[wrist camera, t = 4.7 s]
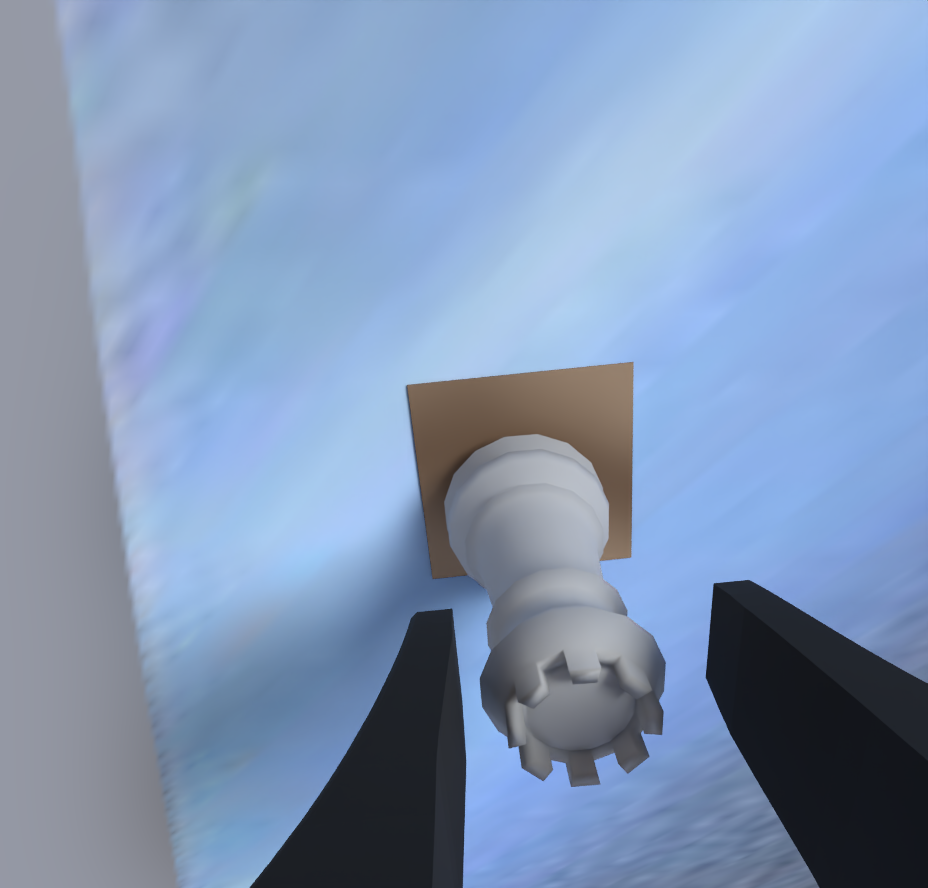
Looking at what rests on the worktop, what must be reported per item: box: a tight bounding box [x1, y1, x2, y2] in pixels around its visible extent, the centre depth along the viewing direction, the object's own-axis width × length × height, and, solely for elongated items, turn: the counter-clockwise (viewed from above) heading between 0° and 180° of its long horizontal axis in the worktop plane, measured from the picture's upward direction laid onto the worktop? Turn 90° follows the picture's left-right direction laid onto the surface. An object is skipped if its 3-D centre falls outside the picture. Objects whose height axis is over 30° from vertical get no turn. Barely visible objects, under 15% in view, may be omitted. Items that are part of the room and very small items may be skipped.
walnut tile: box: [407, 362, 633, 579], centre depth 17 cm, size 6×6×1 cm
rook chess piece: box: [444, 434, 666, 787], centre depth 13 cm, size 4×4×8 cm
